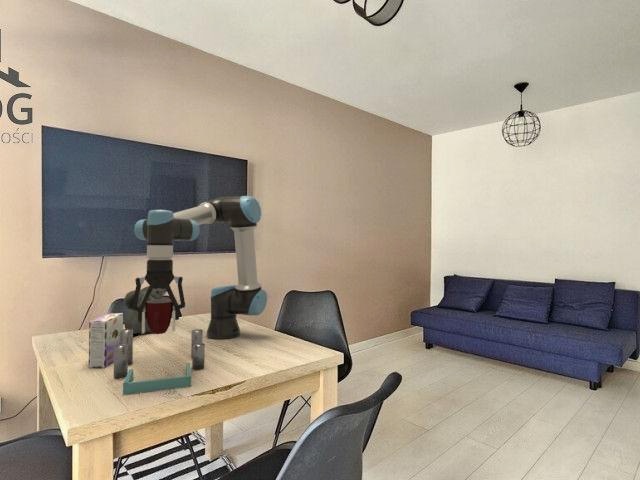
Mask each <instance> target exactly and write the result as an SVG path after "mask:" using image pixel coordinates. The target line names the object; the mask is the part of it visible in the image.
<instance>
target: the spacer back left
mask: <svg viewBox="0 0 640 480" xmlns="http://www.w3.org/2000/svg"><path fill="white" fill-rule="evenodd" d="M203 334H204V333H203V329H201V328H198V329H197V328H196V329H192V330H191V337H190V338H191V343H190V345H191V346H190V347H191V351H190V355H191V356H190V357H191V358H192V345H193V344H197V343H203V336H204V335H203Z"/></svg>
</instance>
